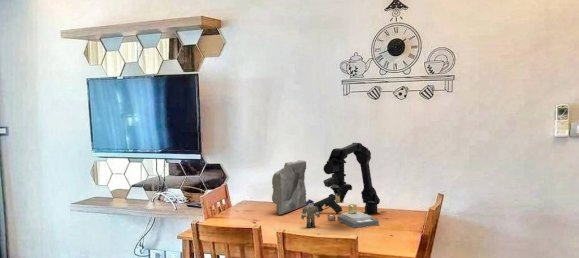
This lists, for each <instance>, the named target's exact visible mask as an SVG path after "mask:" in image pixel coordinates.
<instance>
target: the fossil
mask: <svg viewBox="0 0 579 258" xmlns="http://www.w3.org/2000/svg"><path fill="white" fill-rule="evenodd" d="M306 170H307V161H306V160H300V159H299V160H297V161H289V162H285V163H284V166H283V167H282V168H281V169H280V170H278V171H276V172H274V174H273V175H272V181H271V185H272V191H273V192H272V194H271V195H272V197H271V200H272V203H274V204H275V205H276V206H275V209H276V214H277V215H284V214H286V213H289V212H293V211H294V210H298V209H300V208H304V207H307V192H306V191H307V190H306V185H305V182H306V181H305V179H306V178H305V177H306V175H305V174H306V173H305V172H306Z"/></svg>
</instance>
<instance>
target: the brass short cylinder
mask: <svg viewBox="0 0 579 258" xmlns="http://www.w3.org/2000/svg"><path fill="white" fill-rule="evenodd" d="M348 212H349V214H357V212H358V209H357V204H348Z"/></svg>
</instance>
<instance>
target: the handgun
mask: <svg viewBox="0 0 579 258" xmlns="http://www.w3.org/2000/svg"><path fill="white" fill-rule="evenodd" d="M313 206H316V207H318V212H319V213H320V212H322V213H323V211H324V210H327V209H330V208H331V209H332V210H333V211H334V212H335V214H336V215H338V214H340V213H341V212H343V208H342V206H341V205H340V204H339V203H336V202H335V194H334V193H331V194H329V195H328V196H327V197H325V198H323V199H321V200H318V201H315V202H314V205H313ZM324 206H325V208H323V207H324ZM314 213H315V211H314Z"/></svg>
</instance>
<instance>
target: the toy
mask: <svg viewBox="0 0 579 258" xmlns="http://www.w3.org/2000/svg"><path fill="white" fill-rule="evenodd" d="M306 202H307V205H306V206H303V207H302V211H301V217H300V219H302V220H304V219H305V218H306V228H307V229H315V228H316V227H317V226H316V224H315V223H316V222H315V219H316V217H317V218H318V219H319V218H320V217H321V215H320V212H318V207H316V206H313V205H314V203H315V201H314V200H312V199H308V200H306ZM314 211H315V212H314Z"/></svg>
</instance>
